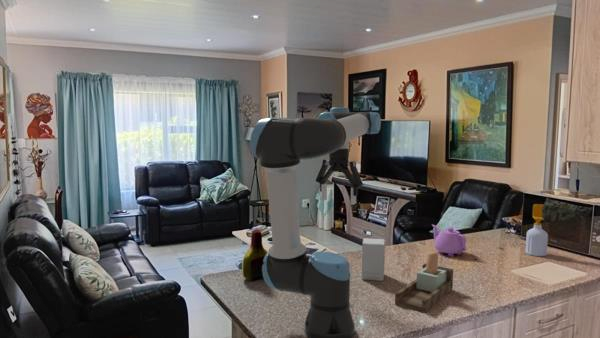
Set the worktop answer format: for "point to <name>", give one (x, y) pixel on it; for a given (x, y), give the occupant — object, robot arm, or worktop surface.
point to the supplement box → (373, 259)
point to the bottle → (254, 257)
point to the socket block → (430, 280)
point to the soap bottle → (537, 235)
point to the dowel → (432, 263)
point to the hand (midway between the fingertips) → (338, 202)
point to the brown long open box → (423, 294)
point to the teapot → (449, 241)
